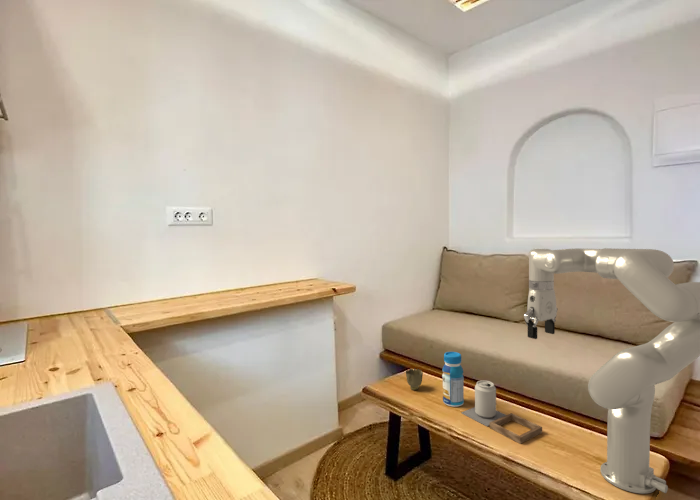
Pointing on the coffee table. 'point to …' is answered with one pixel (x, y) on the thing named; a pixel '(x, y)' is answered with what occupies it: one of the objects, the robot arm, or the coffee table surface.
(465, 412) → the mat
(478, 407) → the can
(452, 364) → the beverage bottle
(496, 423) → the wooden picture frame
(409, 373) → the cup
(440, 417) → the coffee table surface
